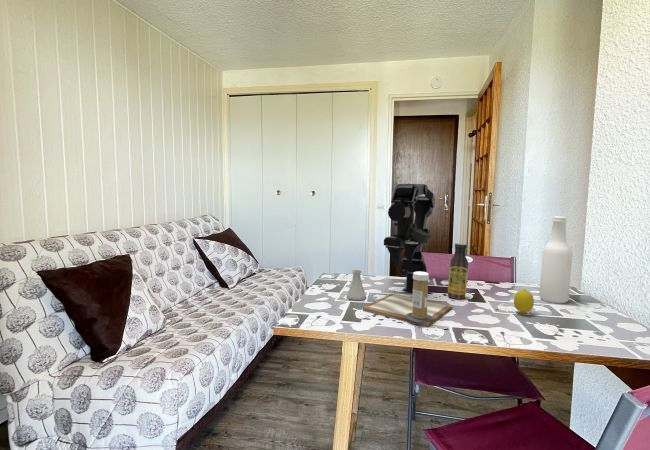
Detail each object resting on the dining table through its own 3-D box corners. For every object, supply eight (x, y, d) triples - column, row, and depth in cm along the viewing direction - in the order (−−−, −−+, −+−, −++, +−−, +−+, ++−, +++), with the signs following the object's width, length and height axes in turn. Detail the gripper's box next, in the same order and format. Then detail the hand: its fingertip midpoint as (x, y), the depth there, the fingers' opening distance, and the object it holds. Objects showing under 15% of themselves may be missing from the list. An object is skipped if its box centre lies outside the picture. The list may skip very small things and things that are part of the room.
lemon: (530, 311, 115) (532, 287, 114) (534, 317, 110) (536, 292, 109) (511, 309, 117) (513, 286, 116) (514, 315, 112) (516, 290, 111)
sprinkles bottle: (430, 318, 105) (432, 273, 104) (417, 320, 103) (419, 275, 102) (421, 313, 109) (422, 270, 108) (408, 315, 108) (409, 271, 106)
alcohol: (568, 299, 129) (575, 216, 125) (567, 305, 121) (574, 218, 118) (540, 294, 134) (546, 215, 131) (538, 300, 127) (544, 216, 124)
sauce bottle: (446, 298, 128) (449, 244, 126) (447, 293, 134) (450, 241, 132) (466, 300, 126) (469, 245, 124) (466, 296, 132) (469, 242, 130)
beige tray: (391, 296, 131) (392, 292, 131) (452, 309, 117) (452, 305, 117) (361, 311, 114) (361, 307, 114) (426, 328, 101) (427, 324, 101)
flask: (366, 295, 132) (366, 268, 131) (366, 301, 125) (367, 273, 124) (346, 294, 132) (347, 268, 131) (345, 300, 125) (346, 272, 124)
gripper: (414, 222, 111) (412, 272, 112) (438, 220, 125) (436, 264, 126) (383, 220, 118) (381, 267, 119) (409, 219, 132) (407, 260, 133)
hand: (403, 264), depth 124 cm, fingers open, 9 cm apart
